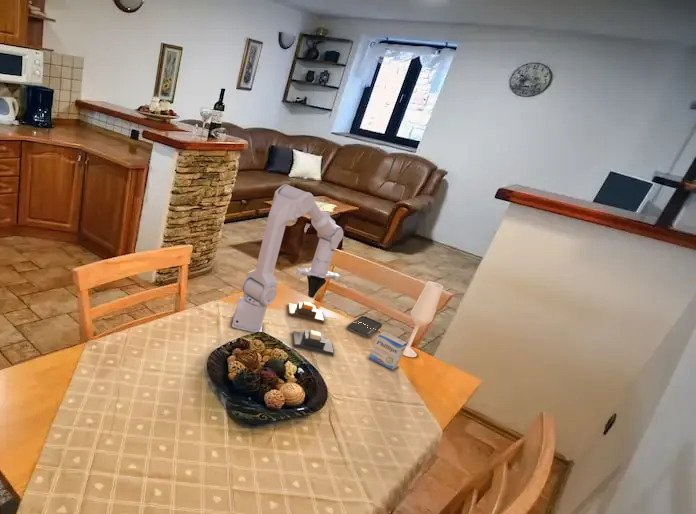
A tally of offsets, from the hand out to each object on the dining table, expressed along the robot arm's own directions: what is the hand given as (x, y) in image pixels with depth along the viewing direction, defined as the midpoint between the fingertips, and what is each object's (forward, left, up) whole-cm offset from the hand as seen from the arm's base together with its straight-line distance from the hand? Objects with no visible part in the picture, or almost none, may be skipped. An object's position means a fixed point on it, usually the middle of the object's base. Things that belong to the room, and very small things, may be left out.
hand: (310, 296), depth 173 cm
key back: (0, 0, -4) cm, 4 cm away
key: (+1, -23, -4) cm, 23 cm away
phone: (+21, 0, -7) cm, 22 cm away
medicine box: (+23, -24, -7) cm, 34 cm away
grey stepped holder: (+1, -23, -7) cm, 24 cm away
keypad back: (0, 0, -7) cm, 7 cm away
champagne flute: (+33, -12, -7) cm, 36 cm away
